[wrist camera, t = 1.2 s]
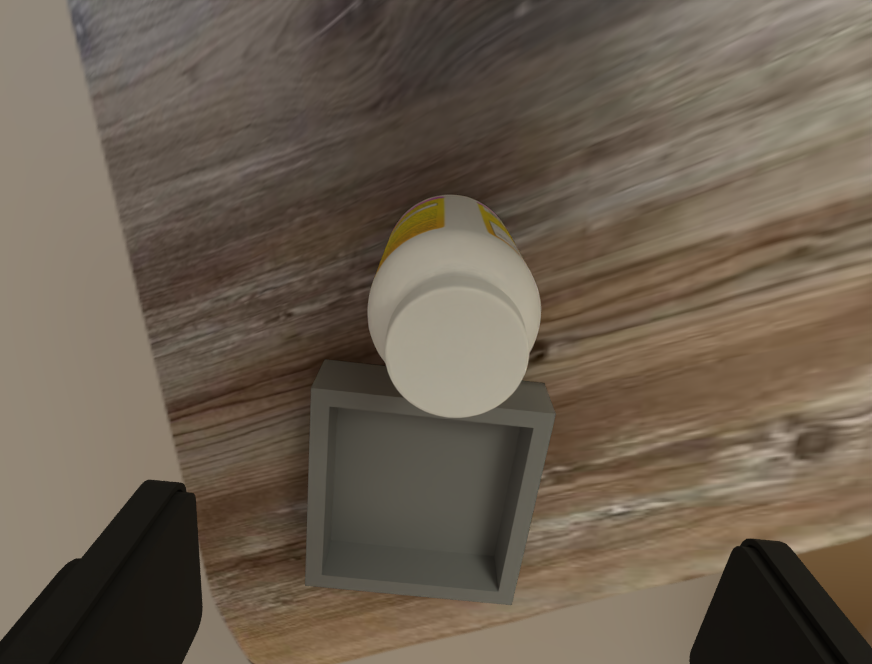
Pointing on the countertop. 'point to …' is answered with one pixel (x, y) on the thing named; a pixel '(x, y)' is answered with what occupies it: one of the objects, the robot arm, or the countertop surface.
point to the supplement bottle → (453, 308)
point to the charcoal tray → (419, 489)
